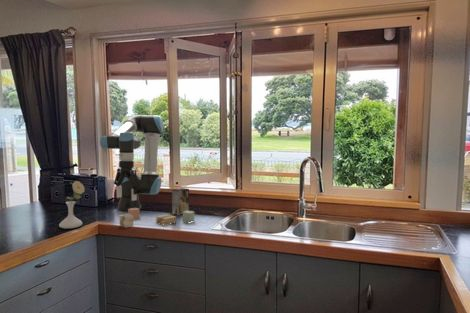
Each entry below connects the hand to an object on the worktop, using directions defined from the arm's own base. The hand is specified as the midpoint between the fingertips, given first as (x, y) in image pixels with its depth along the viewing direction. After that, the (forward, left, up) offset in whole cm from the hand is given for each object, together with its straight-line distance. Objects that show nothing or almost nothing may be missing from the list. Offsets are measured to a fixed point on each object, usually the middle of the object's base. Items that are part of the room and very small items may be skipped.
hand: (126, 198), depth 178 cm
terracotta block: (-10, +12, -15) cm, 22 cm away
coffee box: (+2, +39, -15) cm, 42 cm away
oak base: (+12, +18, -15) cm, 27 cm away
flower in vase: (-20, -20, -15) cm, 32 cm away
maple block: (0, 0, -15) cm, 15 cm away
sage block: (+20, +28, -15) cm, 38 cm away
